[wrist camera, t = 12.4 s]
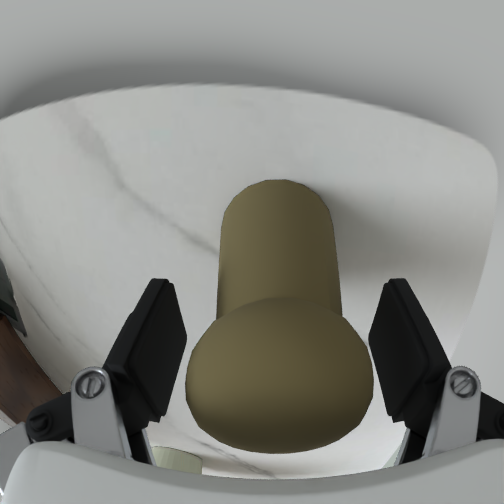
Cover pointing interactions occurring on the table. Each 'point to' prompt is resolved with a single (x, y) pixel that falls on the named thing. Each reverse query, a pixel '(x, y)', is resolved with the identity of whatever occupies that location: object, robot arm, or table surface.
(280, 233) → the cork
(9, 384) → the cabinet
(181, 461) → the reusable coffee cup
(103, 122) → the table surface
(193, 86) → the table surface
